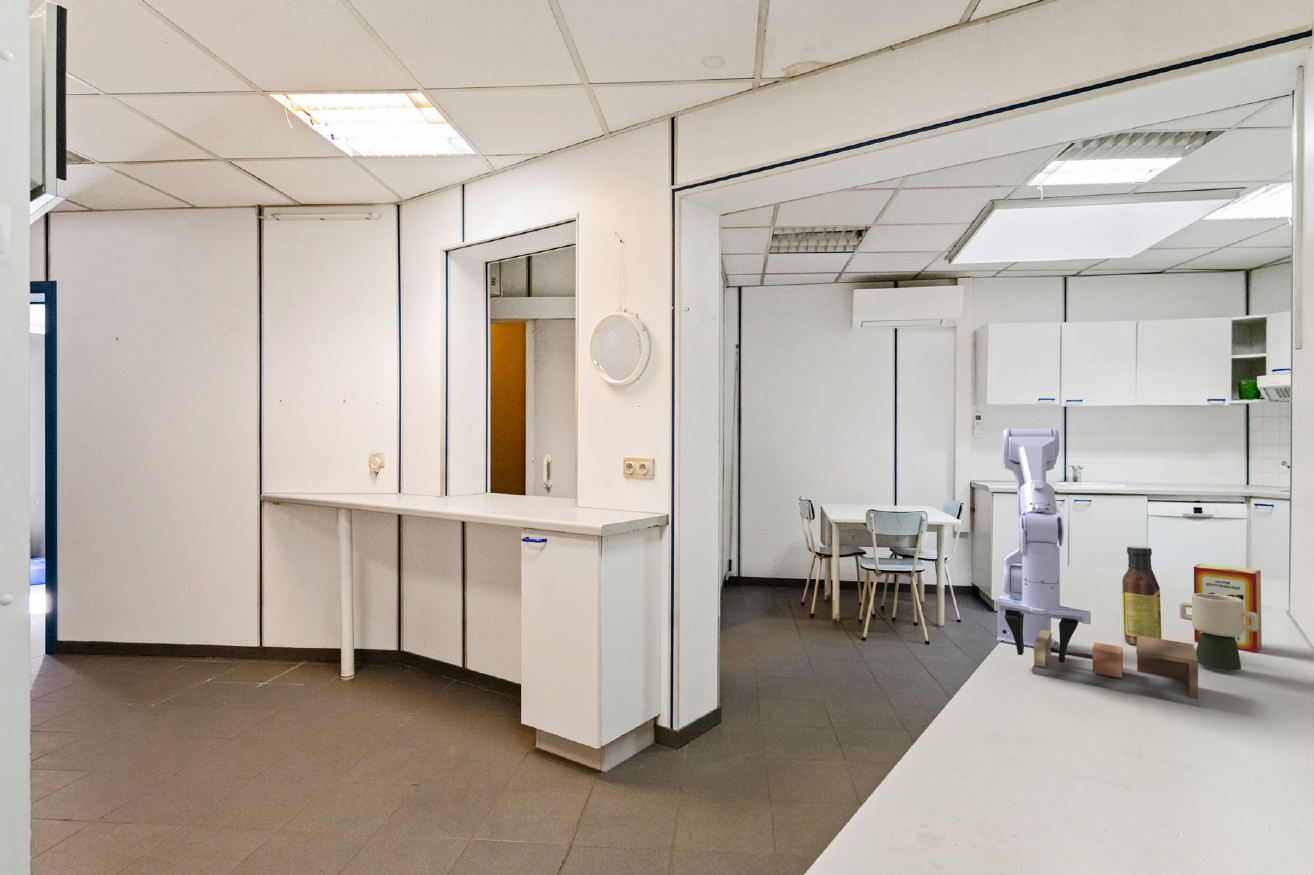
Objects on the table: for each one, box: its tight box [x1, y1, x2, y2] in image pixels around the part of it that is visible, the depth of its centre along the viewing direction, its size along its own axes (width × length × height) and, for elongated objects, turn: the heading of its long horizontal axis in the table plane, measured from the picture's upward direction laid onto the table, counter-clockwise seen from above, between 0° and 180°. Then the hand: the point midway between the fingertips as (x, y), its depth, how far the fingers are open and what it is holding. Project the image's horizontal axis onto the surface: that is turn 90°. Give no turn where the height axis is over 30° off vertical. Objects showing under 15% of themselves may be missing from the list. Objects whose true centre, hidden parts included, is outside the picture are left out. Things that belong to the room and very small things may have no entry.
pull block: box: [1033, 630, 1124, 678], centre depth 109 cm, size 12×10×4 cm
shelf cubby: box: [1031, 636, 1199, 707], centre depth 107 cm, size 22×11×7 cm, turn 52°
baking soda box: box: [1193, 563, 1263, 654], centre depth 129 cm, size 10×6×16 cm
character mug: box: [1178, 593, 1258, 672], centre depth 113 cm, size 11×7×13 cm, turn 36°
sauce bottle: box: [1121, 545, 1162, 647], centre depth 128 cm, size 6×6×20 cm
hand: (1040, 657), depth 110 cm, fingers open, 6 cm apart
